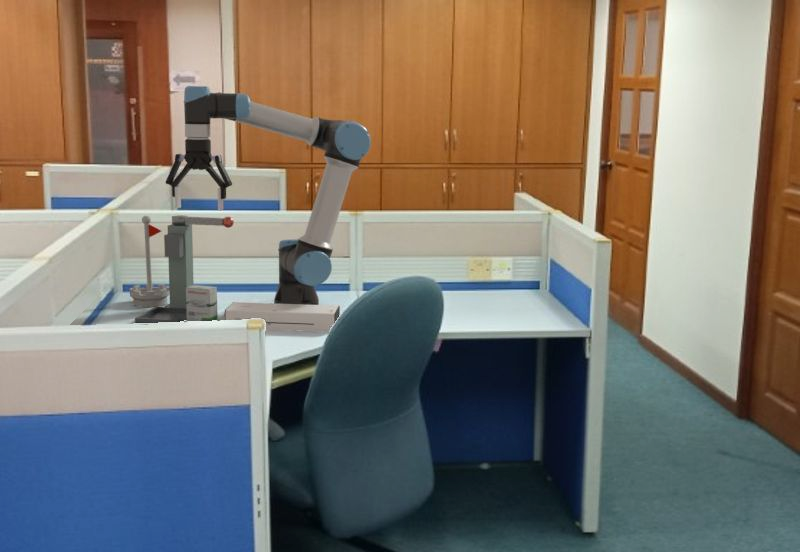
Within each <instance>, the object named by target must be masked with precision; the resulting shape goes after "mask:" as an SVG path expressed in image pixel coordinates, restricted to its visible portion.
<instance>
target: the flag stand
mask: <svg viewBox="0 0 800 552" xmlns="http://www.w3.org/2000/svg"><path fill="white" fill-rule="evenodd" d="M141 222H142V223H143V227H144V248H145V249H144V250H145V264H146V265H145V266H146V284H145V287H141V285H139V284H137V285H134V286H132V287H130V288H129V296H130V297H131V298H132V299H133V301H132V302H133V306H135V305H136V306H135V307H139V306H143V307H142V308H152V307H153V308H154V306H155V307H162V306H165V305H167V303H168V296H170V292H169V285H166V284H164V283H163V284H162V283H159V284H158V286H157V287H156V286H154V283H153V282H152V281H153V280H152V262H151V261H152V259H151V258H152V257H151V241H150V239H151V237H153V236H155V235H157V234H159V233H161V232H162V230H161V229H159V228H157V227H155V226H153V225H152V224H150V223H151V222H152V219H151V217H150V216H149V215H143V216H142V218H141Z"/></svg>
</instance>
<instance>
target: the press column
mask: <svg viewBox="0 0 800 552" xmlns="http://www.w3.org/2000/svg"><path fill="white" fill-rule="evenodd" d="M163 238H164V239H163V240H164V241H163V242H164V244H163V245H164V258H168V259H167V260H168V286H169V292H170V294H169V303H168V304H165V305H163V307H173V308H186V288H187V287H189V286H193V285H195V284H194V248H193V247H194V246H193V245H194V244H193V224H185V225H174V224H172V223H171V224H169V225H167V234H164V235H163Z"/></svg>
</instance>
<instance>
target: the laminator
mask: <svg viewBox="0 0 800 552" xmlns="http://www.w3.org/2000/svg"><path fill="white" fill-rule="evenodd" d="M340 310H341V308H340V305H335V304H334V305H332V304H331V305H329V304H319V305H304V304H275V303H274V302H273V303H272V302H271V303H268V302H238V301H233V302H232V303H230V304H229V305H228V306H227V307H226V308H225V309H224V321H225V320H242V319H251V318H261V319H264V320H265V322H266V330H267V331H287V330H303V331H302V332H316V331H329V330H330V328H331V327H332V325H333V324H334V323H335V321H336V320H337V318H338V317H339V315H341V314H340ZM266 330H265V331H266Z"/></svg>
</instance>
